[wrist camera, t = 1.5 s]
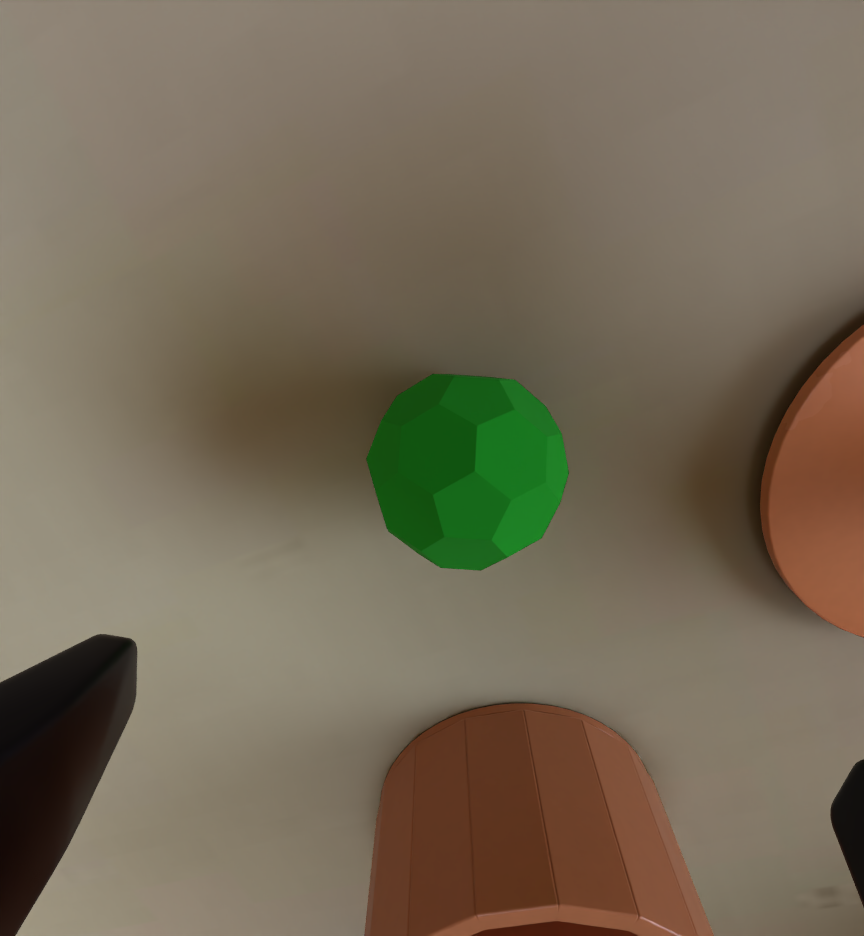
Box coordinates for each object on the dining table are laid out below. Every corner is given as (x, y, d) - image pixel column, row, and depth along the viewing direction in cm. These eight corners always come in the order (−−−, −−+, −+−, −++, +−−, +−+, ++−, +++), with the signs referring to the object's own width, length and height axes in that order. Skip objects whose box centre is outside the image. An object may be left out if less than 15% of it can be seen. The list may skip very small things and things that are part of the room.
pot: (690, 727, 21) (798, 939, 15) (606, 917, 25) (664, 1153, 19) (405, 681, 21) (391, 880, 14) (361, 882, 24) (333, 1114, 18)
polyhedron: (434, 544, 19) (433, 639, 14) (343, 414, 17) (311, 476, 13) (578, 464, 18) (624, 540, 13) (495, 320, 16) (516, 351, 12)
